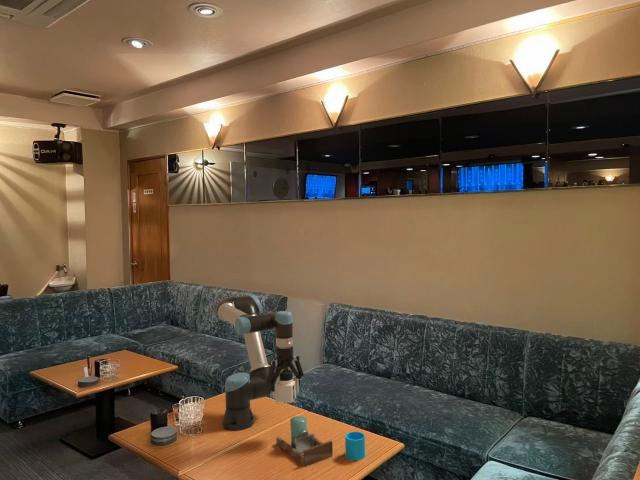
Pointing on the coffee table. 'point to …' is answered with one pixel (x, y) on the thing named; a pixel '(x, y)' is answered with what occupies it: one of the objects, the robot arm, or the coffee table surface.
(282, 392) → the container
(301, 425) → the capsule
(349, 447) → the mug
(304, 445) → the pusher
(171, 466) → the coffee table surface
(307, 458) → the frame
